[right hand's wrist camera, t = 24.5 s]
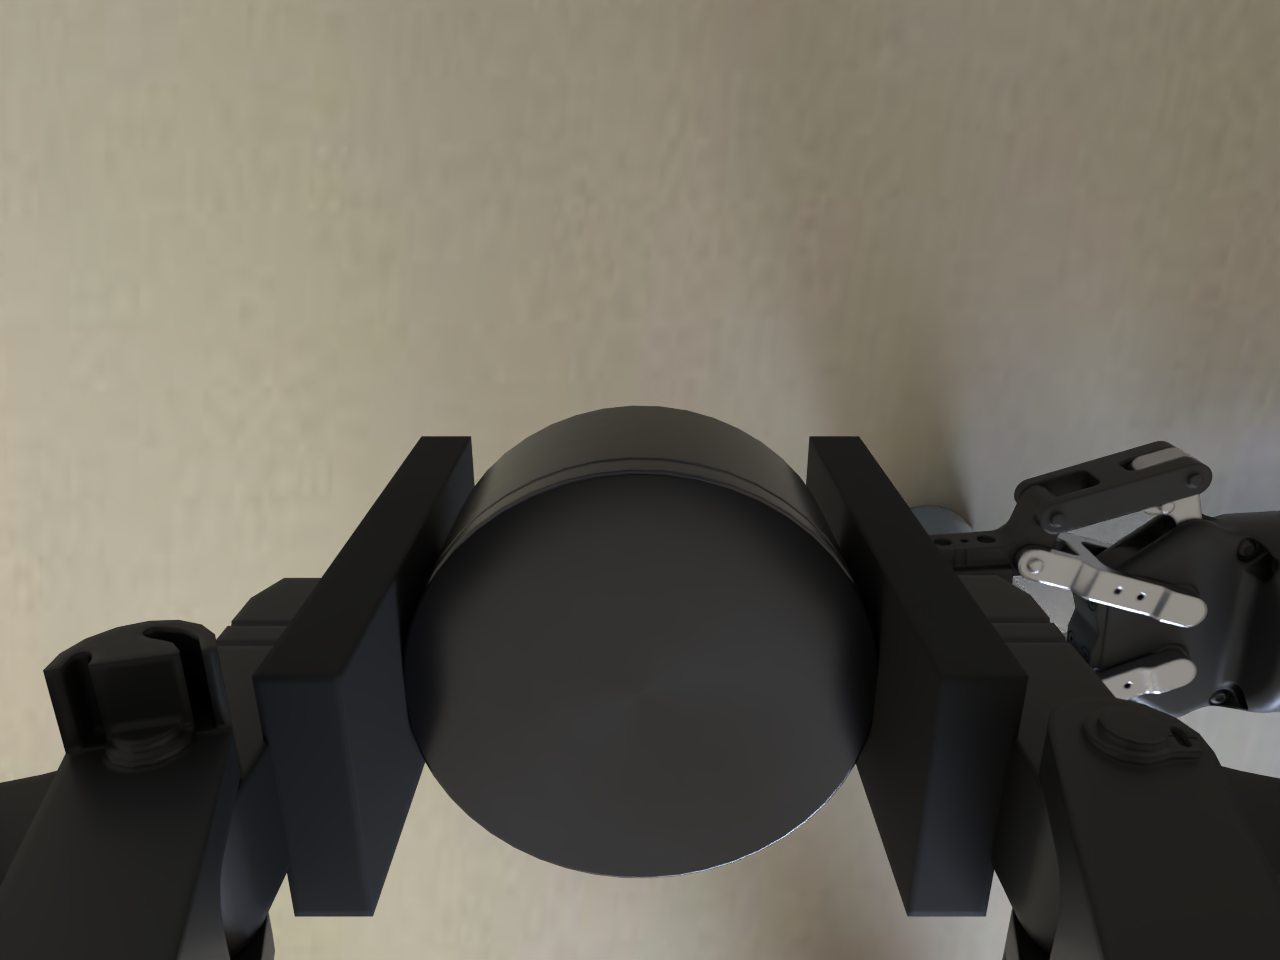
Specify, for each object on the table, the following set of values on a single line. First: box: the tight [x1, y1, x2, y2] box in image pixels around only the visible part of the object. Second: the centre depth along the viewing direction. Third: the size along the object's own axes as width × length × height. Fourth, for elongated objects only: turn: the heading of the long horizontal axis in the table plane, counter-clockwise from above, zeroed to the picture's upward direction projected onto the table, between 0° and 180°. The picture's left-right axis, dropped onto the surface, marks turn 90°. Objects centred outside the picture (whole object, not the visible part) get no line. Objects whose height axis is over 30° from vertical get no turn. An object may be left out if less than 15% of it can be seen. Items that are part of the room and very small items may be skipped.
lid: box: [403, 406, 879, 878], centre depth 11 cm, size 5×5×2 cm
